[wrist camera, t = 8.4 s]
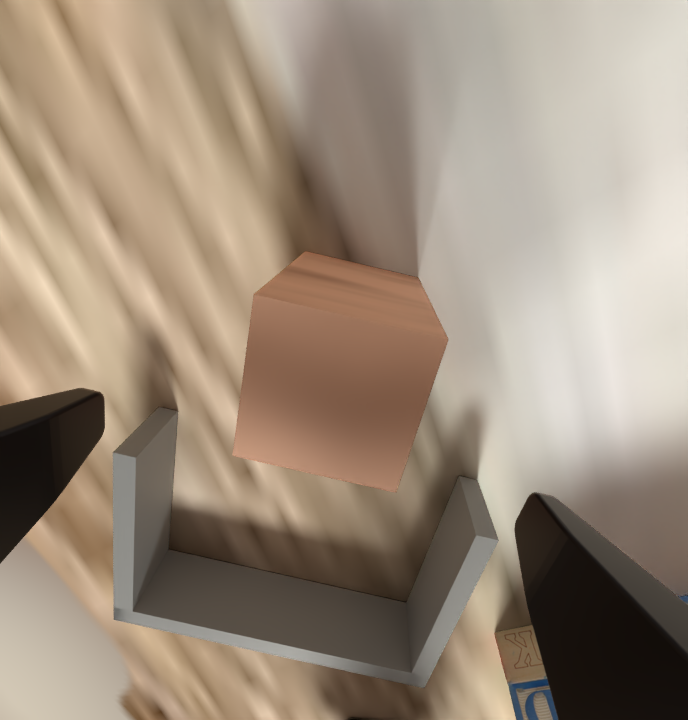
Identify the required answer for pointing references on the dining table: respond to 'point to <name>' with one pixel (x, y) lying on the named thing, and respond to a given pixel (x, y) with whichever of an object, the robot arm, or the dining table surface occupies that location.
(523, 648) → the stack of blocks
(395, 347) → the terracotta block
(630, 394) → the dining table surface
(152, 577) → the open-fronted box
